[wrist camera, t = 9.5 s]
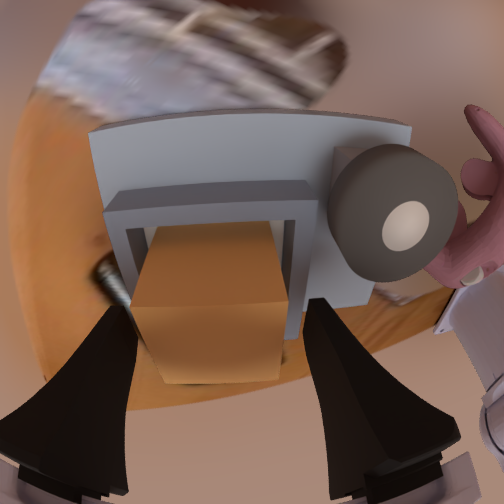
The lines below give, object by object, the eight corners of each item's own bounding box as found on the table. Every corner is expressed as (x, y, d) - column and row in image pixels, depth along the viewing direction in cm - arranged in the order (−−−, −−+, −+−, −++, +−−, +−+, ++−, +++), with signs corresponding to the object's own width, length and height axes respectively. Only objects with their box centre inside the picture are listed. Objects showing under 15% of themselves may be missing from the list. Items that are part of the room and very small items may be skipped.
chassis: (395, 120, 12) (438, 139, 9) (359, 288, 18) (378, 328, 15) (101, 125, 11) (65, 146, 8) (145, 301, 17) (134, 344, 14)
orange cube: (268, 220, 13) (288, 301, 9) (266, 300, 16) (278, 379, 12) (157, 226, 12) (129, 307, 8) (175, 304, 15) (165, 383, 11)
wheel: (418, 137, 10) (472, 167, 7) (397, 230, 13) (434, 276, 10) (316, 125, 10) (354, 151, 7) (307, 233, 13) (330, 288, 10)
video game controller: (395, 233, 18) (460, 310, 14) (371, 220, 14) (455, 319, 10) (475, 128, 13) (550, 196, 9) (468, 91, 10) (566, 170, 6)
